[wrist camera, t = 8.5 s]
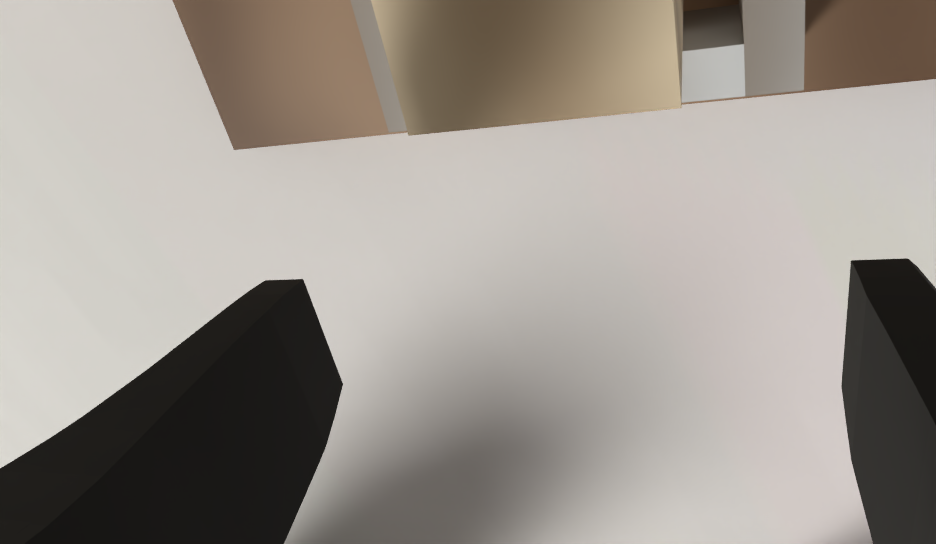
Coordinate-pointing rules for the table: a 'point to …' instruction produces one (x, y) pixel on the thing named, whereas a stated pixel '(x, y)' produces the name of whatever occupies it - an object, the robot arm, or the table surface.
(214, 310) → the table surface
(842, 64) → the socket stand
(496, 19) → the peg
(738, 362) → the table surface
